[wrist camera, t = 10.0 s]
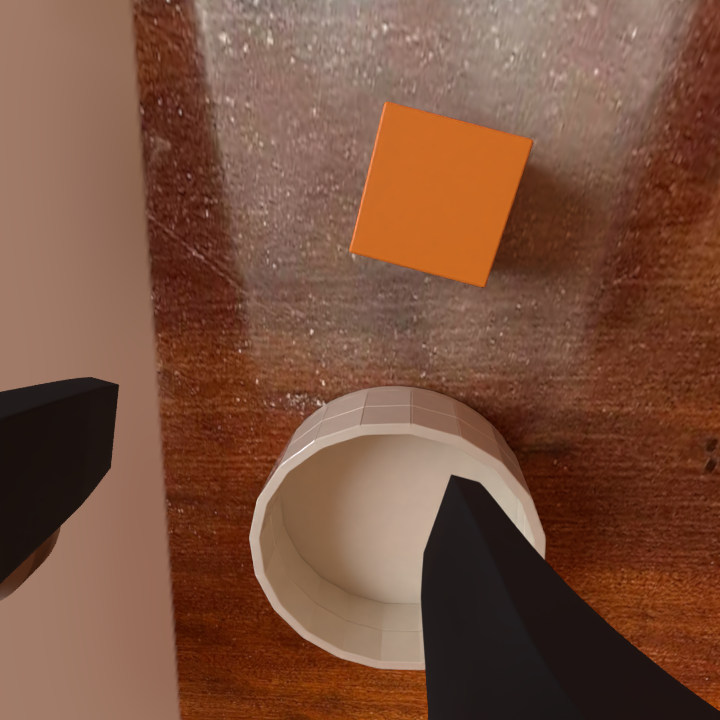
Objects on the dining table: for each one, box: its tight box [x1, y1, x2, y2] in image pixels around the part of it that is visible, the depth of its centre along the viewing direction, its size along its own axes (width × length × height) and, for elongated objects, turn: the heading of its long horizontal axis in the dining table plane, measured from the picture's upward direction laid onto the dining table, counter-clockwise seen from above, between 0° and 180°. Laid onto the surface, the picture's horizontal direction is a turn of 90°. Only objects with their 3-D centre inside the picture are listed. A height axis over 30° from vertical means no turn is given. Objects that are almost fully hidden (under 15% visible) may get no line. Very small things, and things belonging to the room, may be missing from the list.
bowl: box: [249, 386, 546, 670], centre depth 20 cm, size 10×10×4 cm
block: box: [349, 102, 533, 288], centre depth 16 cm, size 4×4×4 cm
